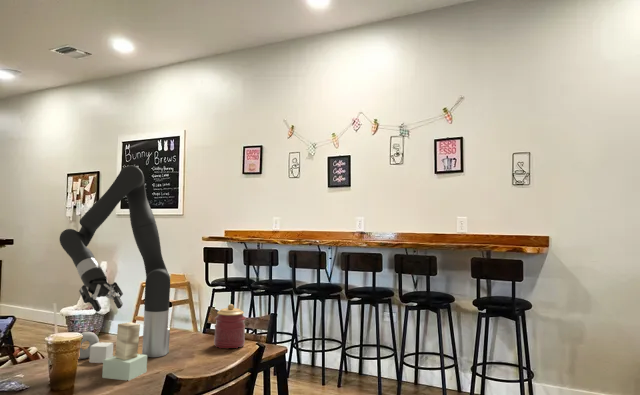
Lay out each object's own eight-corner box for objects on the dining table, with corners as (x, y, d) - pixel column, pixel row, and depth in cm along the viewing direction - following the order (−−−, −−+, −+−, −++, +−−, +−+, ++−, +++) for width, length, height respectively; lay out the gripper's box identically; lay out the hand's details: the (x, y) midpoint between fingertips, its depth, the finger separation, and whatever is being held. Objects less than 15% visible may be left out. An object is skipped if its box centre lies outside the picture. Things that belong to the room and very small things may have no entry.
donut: (72, 362, 175) (74, 334, 176) (68, 360, 177) (70, 332, 178) (100, 357, 183) (101, 330, 183) (96, 355, 185) (97, 329, 186)
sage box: (120, 369, 168) (121, 352, 169) (146, 372, 166) (147, 355, 167) (102, 378, 159) (103, 360, 159) (129, 381, 157) (130, 362, 157)
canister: (207, 346, 203) (209, 304, 205) (228, 340, 214) (229, 300, 216) (230, 351, 197) (232, 307, 198) (250, 345, 208) (252, 304, 209)
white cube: (89, 362, 175) (90, 346, 176) (96, 358, 181) (97, 342, 182) (105, 363, 175) (106, 346, 176) (112, 358, 181) (113, 342, 182)
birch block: (127, 354, 166) (130, 322, 167) (137, 357, 164) (140, 324, 165) (115, 357, 162) (118, 324, 163) (124, 359, 159) (127, 326, 160)
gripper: (78, 267, 168) (97, 304, 161) (113, 265, 180) (132, 299, 174) (67, 281, 170) (86, 318, 164) (103, 278, 182) (122, 312, 176)
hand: (110, 308), depth 169 cm, fingers open, 8 cm apart
